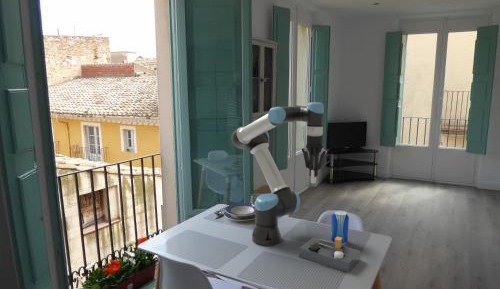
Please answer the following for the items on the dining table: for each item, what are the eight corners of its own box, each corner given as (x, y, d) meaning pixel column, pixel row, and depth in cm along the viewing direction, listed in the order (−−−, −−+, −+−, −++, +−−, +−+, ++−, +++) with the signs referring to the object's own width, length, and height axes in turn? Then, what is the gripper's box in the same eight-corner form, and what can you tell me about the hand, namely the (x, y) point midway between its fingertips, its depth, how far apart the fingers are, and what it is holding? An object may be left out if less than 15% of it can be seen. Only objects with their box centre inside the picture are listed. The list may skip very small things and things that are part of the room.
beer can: (348, 246, 176) (349, 216, 174) (330, 245, 178) (332, 214, 175) (346, 239, 184) (348, 210, 182) (330, 238, 186) (331, 209, 183)
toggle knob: (334, 248, 164) (334, 239, 163) (337, 245, 167) (337, 236, 166) (339, 249, 163) (339, 240, 162) (341, 247, 165) (342, 237, 165)
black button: (308, 250, 164) (308, 243, 163) (312, 247, 167) (312, 240, 167) (316, 252, 162) (316, 245, 161) (320, 249, 165) (320, 242, 164)
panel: (298, 256, 166) (299, 246, 165) (312, 246, 177) (312, 236, 176) (348, 272, 152) (349, 261, 151) (359, 260, 163) (360, 249, 162)
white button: (332, 261, 157) (332, 253, 157) (336, 257, 160) (336, 250, 160) (341, 263, 155) (341, 256, 154) (344, 260, 158) (344, 252, 157)
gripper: (298, 134, 170) (297, 182, 174) (324, 137, 162) (322, 186, 166) (306, 133, 176) (305, 179, 180) (330, 135, 168) (329, 183, 172)
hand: (313, 182), depth 173 cm, fingers closed
